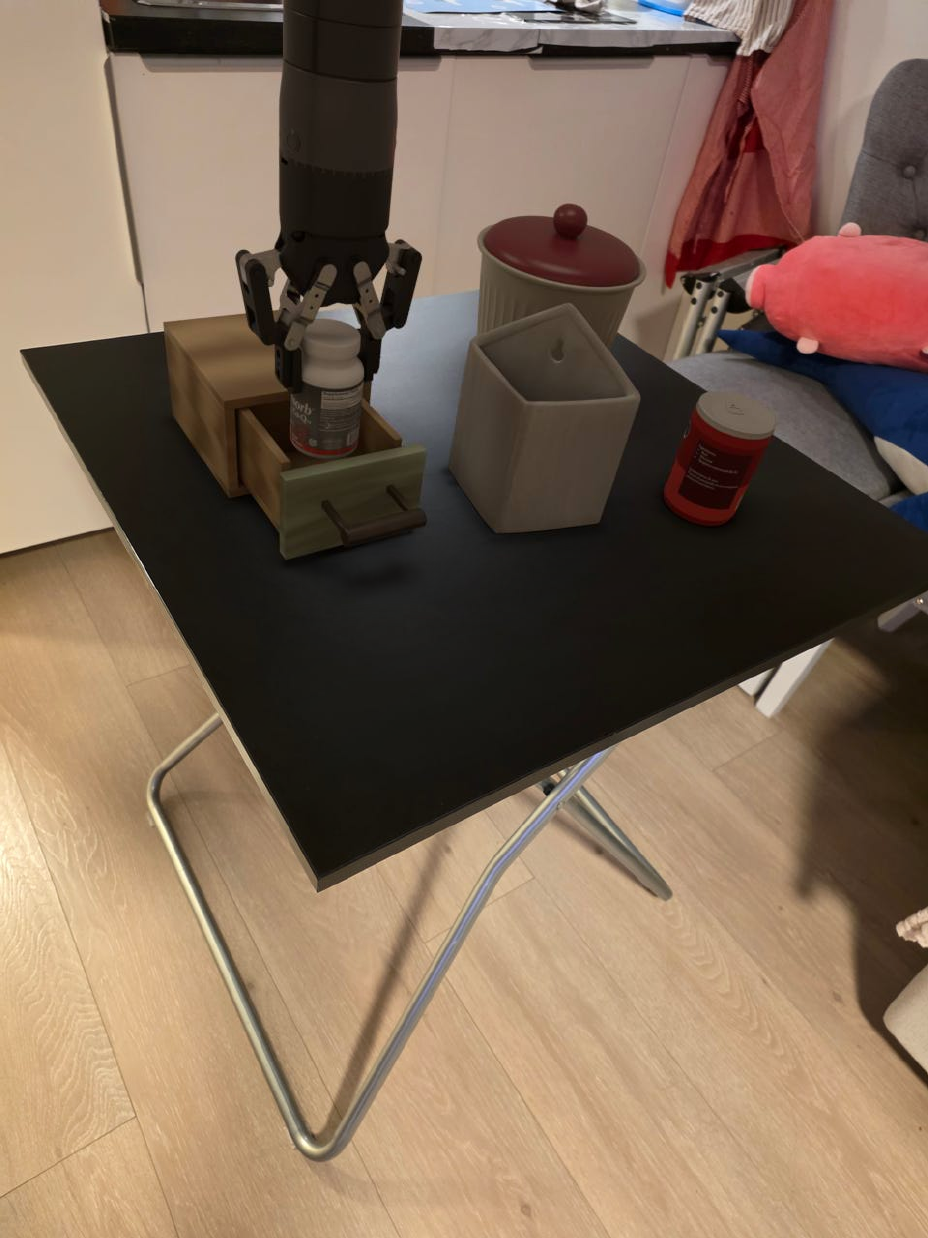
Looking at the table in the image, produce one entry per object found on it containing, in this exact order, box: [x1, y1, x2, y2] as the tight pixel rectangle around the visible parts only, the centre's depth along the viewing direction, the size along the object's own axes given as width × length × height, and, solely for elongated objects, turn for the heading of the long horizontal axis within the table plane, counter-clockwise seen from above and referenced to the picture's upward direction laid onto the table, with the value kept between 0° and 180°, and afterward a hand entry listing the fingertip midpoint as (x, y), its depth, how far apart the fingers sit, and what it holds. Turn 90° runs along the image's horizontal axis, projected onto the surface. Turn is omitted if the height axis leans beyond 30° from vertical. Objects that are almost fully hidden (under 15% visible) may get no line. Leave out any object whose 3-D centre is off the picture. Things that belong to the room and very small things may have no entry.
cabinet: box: [162, 309, 373, 499], centre depth 76 cm, size 15×14×10 cm
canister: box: [476, 203, 648, 361], centre depth 88 cm, size 18×18×21 cm
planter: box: [447, 303, 641, 534], centre depth 71 cm, size 16×8×19 cm, turn 67°
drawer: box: [235, 397, 428, 561], centre depth 69 cm, size 19×13×8 cm, turn 33°
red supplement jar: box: [663, 390, 778, 527], centre depth 80 cm, size 8×8×11 cm
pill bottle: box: [290, 318, 364, 459], centre depth 65 cm, size 6×6×10 cm
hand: (327, 382), depth 64 cm, fingers closed on pill bottle, 5 cm apart
